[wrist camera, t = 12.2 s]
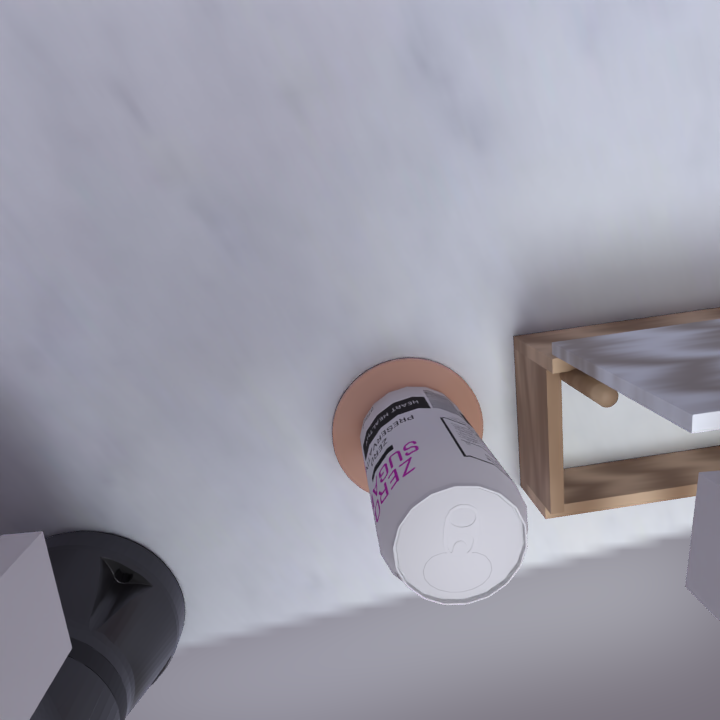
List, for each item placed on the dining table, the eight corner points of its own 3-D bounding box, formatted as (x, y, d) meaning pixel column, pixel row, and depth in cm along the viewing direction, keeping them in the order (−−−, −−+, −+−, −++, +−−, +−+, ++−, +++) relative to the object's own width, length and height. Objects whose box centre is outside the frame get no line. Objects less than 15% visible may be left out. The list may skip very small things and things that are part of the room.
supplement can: (458, 479, 42) (530, 612, 28) (357, 479, 42) (377, 616, 27) (466, 384, 40) (549, 474, 26) (360, 383, 39) (384, 475, 25)
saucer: (343, 507, 43) (343, 511, 42) (322, 369, 40) (322, 371, 39) (485, 486, 43) (487, 489, 43) (475, 347, 40) (478, 349, 39)
